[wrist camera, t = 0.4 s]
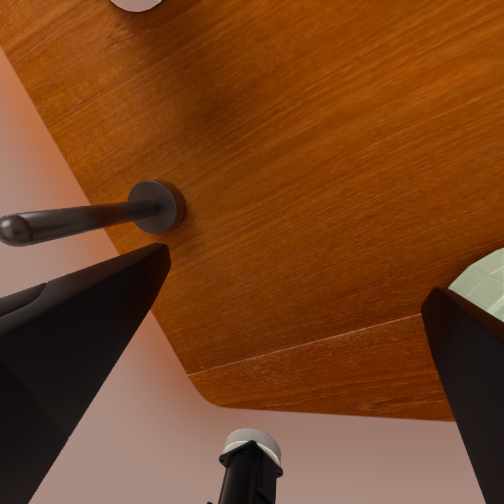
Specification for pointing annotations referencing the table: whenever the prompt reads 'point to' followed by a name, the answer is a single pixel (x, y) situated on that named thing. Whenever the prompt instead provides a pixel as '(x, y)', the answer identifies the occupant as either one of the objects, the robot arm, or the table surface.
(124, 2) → the cup
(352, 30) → the table surface
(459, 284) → the mixing bowl
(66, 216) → the joystick
